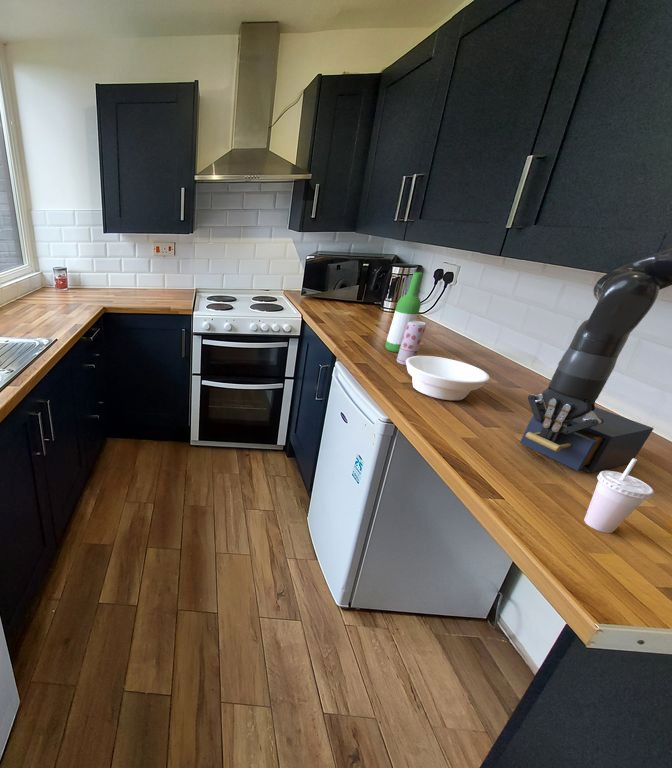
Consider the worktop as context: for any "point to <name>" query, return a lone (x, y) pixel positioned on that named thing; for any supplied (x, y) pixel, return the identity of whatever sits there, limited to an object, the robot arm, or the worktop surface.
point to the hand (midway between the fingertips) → (545, 443)
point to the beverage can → (411, 341)
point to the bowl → (444, 377)
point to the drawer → (564, 445)
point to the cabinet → (615, 440)
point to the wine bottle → (404, 314)
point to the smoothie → (615, 499)
